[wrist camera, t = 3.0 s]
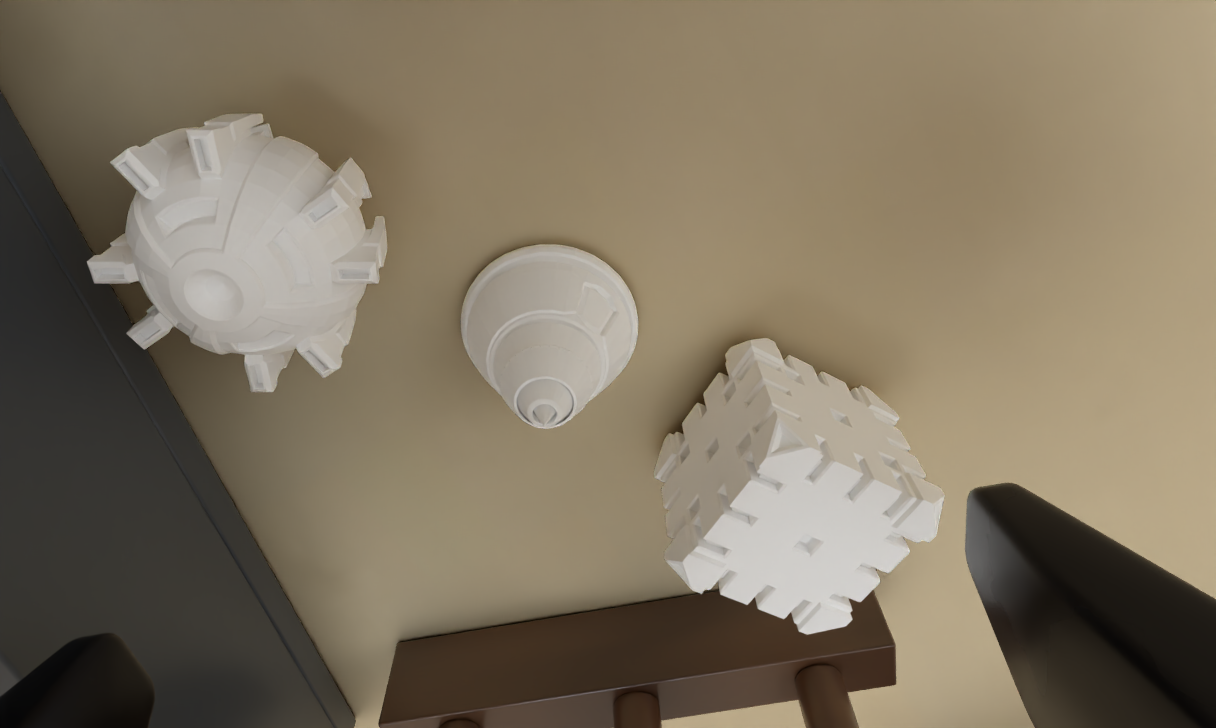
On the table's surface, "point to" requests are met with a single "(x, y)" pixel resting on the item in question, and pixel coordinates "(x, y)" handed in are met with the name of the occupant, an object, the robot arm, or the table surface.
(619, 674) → the drying rack
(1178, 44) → the table surface
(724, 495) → the game pieces
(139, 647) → the open box
